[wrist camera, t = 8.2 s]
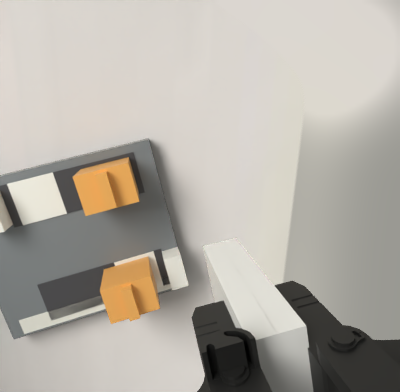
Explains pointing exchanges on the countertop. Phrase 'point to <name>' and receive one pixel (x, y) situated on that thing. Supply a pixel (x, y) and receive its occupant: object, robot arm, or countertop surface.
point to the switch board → (77, 240)
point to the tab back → (129, 290)
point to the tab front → (106, 186)
